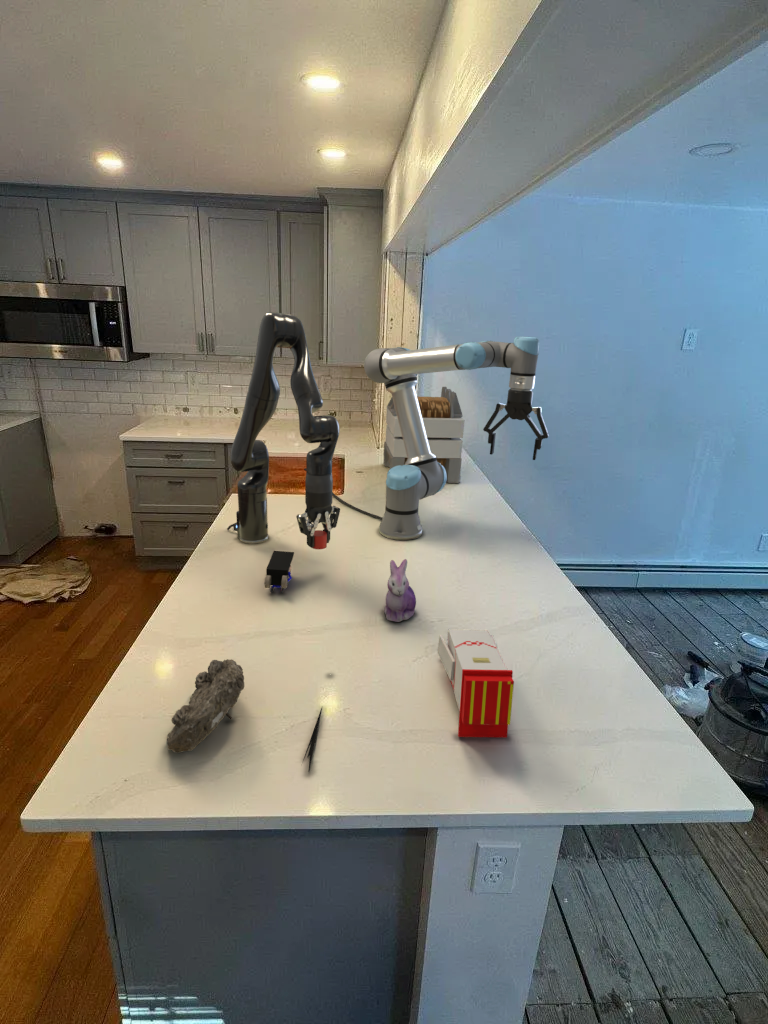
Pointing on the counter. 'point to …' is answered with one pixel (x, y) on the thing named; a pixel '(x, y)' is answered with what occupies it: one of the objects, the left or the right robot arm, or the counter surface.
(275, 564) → the black rover
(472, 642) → the toy
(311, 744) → the feather
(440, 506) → the counter surface
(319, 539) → the cylinder
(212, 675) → the fossil
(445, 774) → the counter surface
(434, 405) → the white wooden crate
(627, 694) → the counter surface
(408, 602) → the figurine
